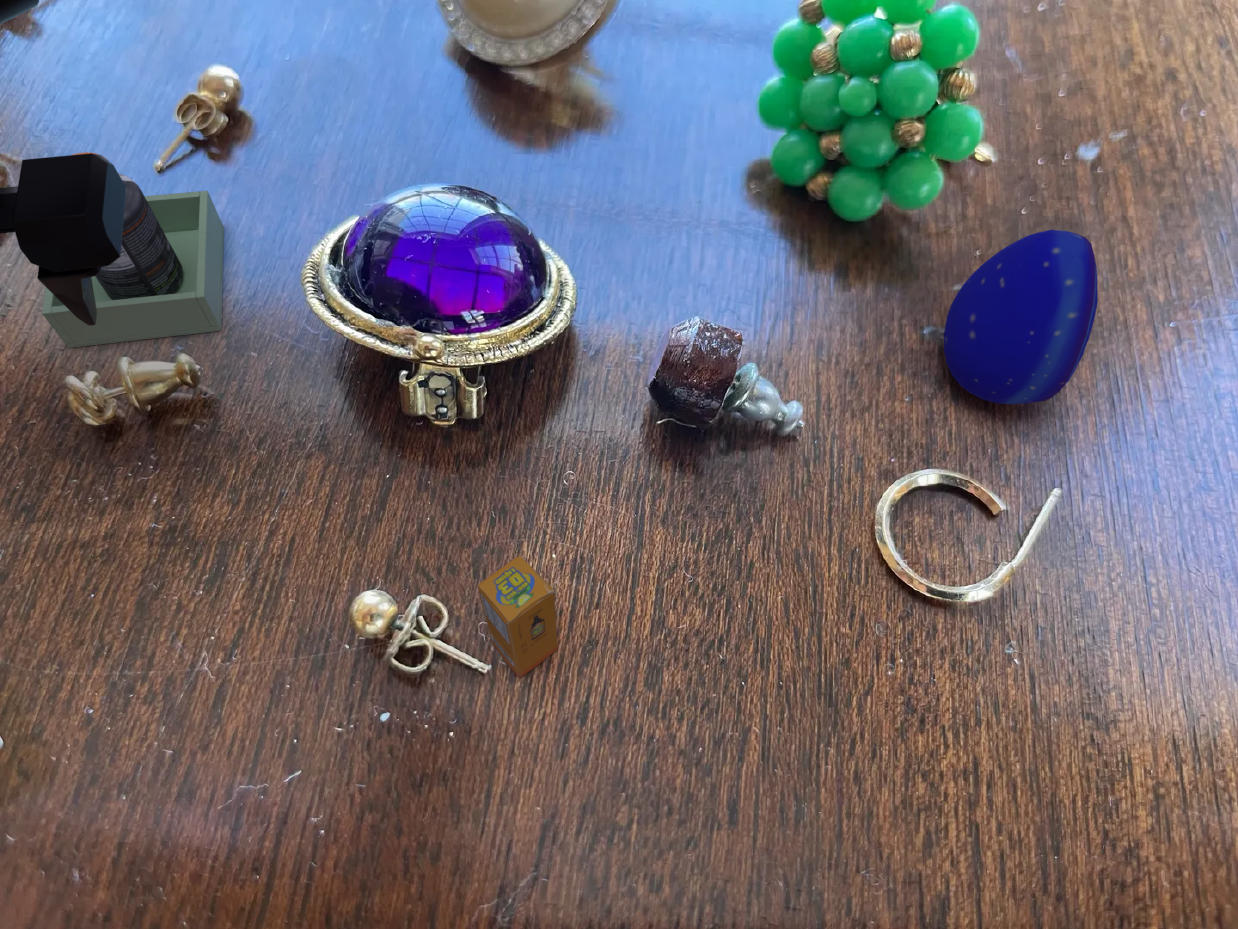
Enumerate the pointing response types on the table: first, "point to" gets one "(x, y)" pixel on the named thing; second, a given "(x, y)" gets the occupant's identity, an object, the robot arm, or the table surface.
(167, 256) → the pill bottle
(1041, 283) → the ornament
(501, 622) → the supplement box
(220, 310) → the bin
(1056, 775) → the table surface
